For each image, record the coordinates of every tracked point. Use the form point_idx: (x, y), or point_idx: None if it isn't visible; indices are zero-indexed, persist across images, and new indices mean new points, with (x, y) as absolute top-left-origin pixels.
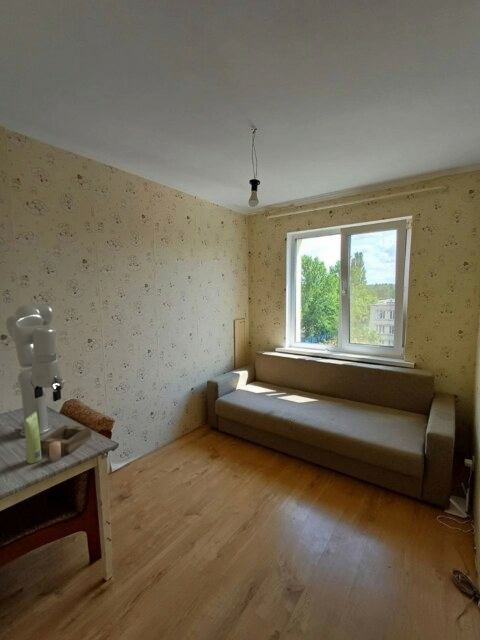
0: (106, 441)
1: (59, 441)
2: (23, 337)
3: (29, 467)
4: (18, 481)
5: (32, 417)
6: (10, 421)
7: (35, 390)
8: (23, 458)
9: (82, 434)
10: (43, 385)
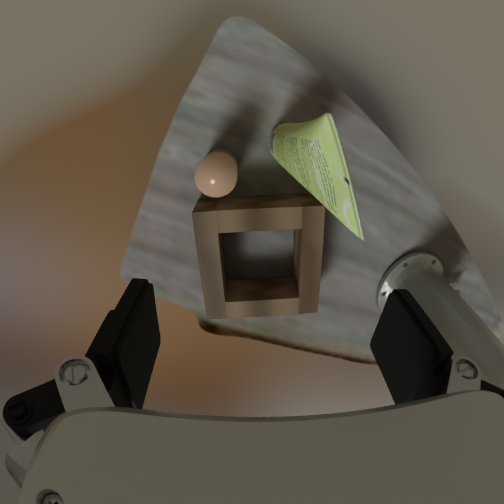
0: None
1: (209, 195)
2: None
3: (269, 107)
4: (237, 45)
5: (342, 185)
6: (483, 298)
7: (434, 347)
8: None
9: (201, 279)
10: (229, 452)
